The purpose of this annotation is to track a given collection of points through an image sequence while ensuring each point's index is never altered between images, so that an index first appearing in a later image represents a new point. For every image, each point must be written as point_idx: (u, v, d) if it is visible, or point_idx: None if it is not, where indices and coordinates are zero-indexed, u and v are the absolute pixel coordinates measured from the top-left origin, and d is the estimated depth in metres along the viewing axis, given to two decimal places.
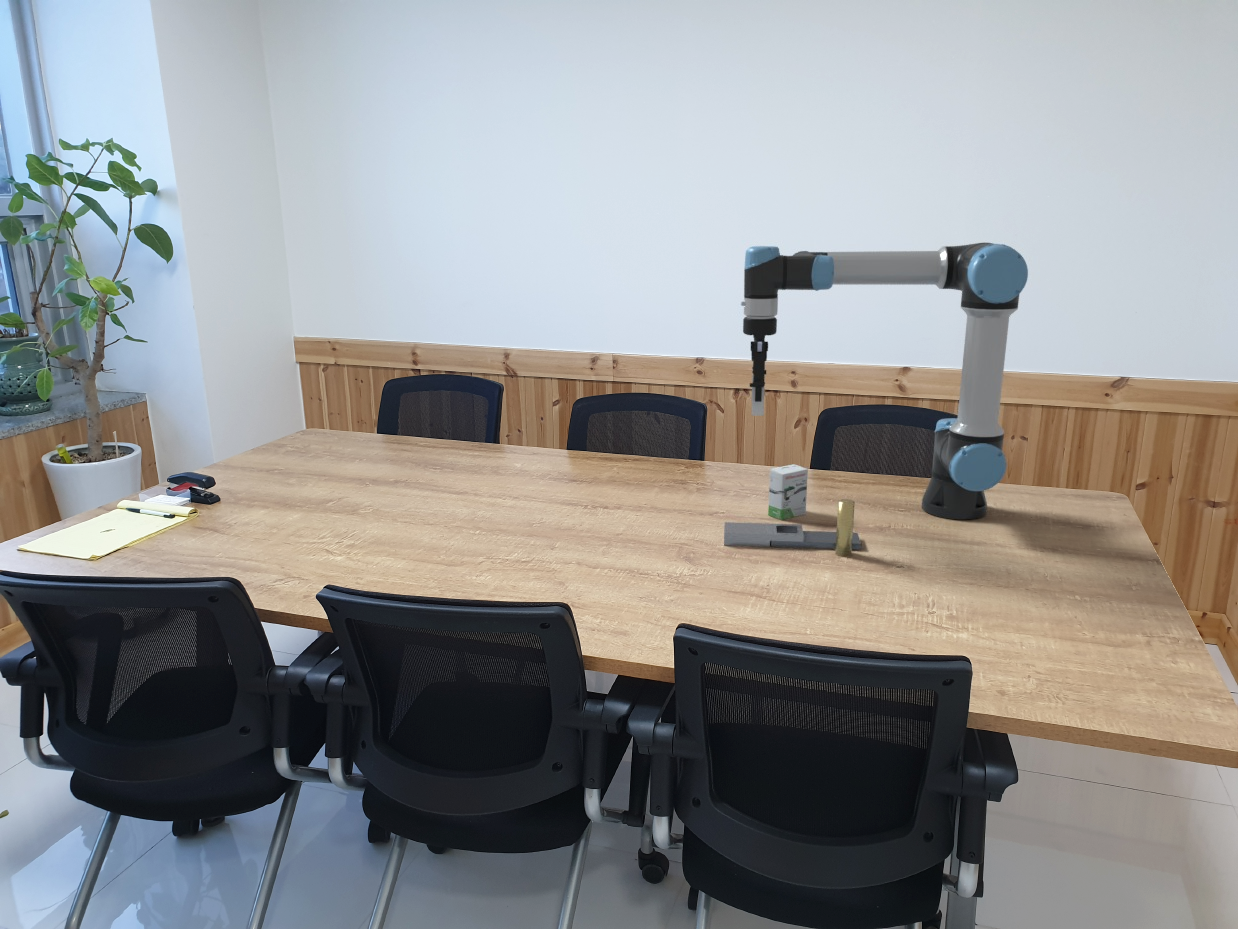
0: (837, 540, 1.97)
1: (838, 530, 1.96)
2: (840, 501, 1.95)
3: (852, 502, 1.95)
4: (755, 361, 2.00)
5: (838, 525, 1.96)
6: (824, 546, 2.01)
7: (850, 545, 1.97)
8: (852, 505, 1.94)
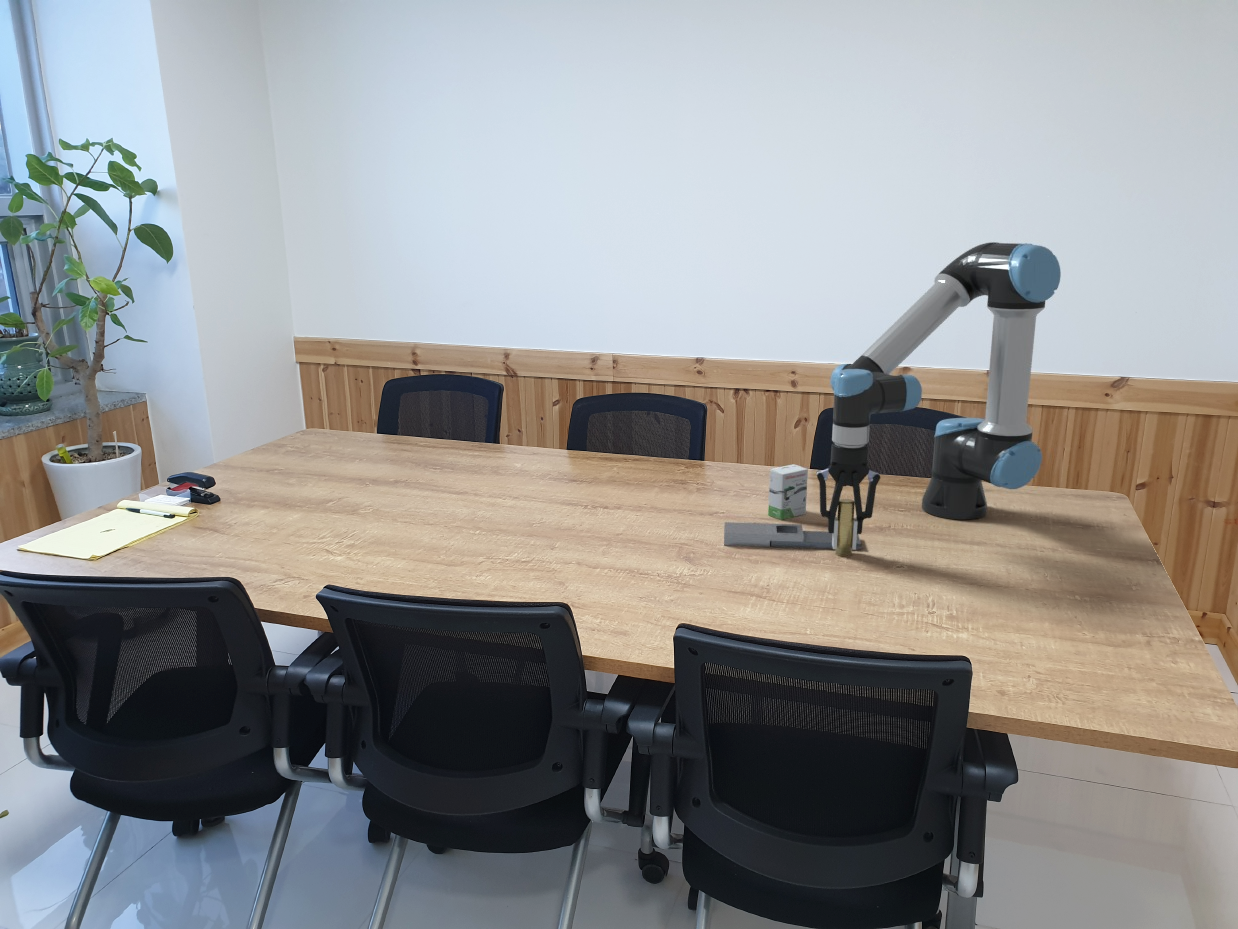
0: (837, 540, 1.97)
1: (838, 530, 1.96)
2: (840, 501, 1.95)
3: (852, 502, 1.95)
4: None
5: (838, 525, 1.96)
6: (824, 546, 2.01)
7: (850, 545, 1.97)
8: (852, 505, 1.94)
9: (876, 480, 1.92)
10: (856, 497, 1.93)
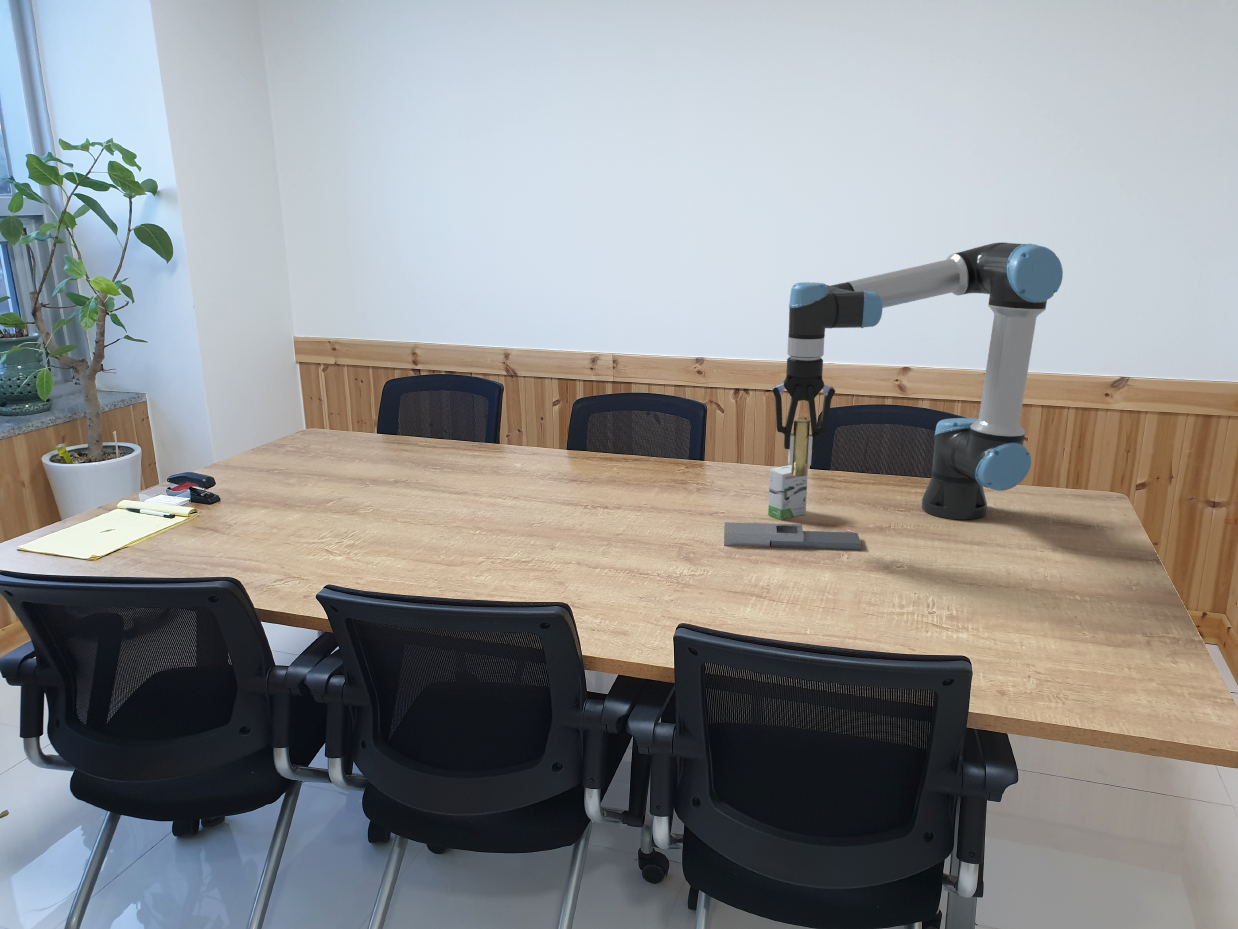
0: (793, 460, 1.98)
1: (794, 450, 1.97)
2: (796, 420, 1.96)
3: (807, 421, 1.96)
4: None
5: (794, 445, 1.97)
6: (824, 546, 2.01)
7: (805, 465, 1.98)
8: (807, 424, 1.95)
9: (831, 394, 1.93)
10: (811, 411, 1.94)
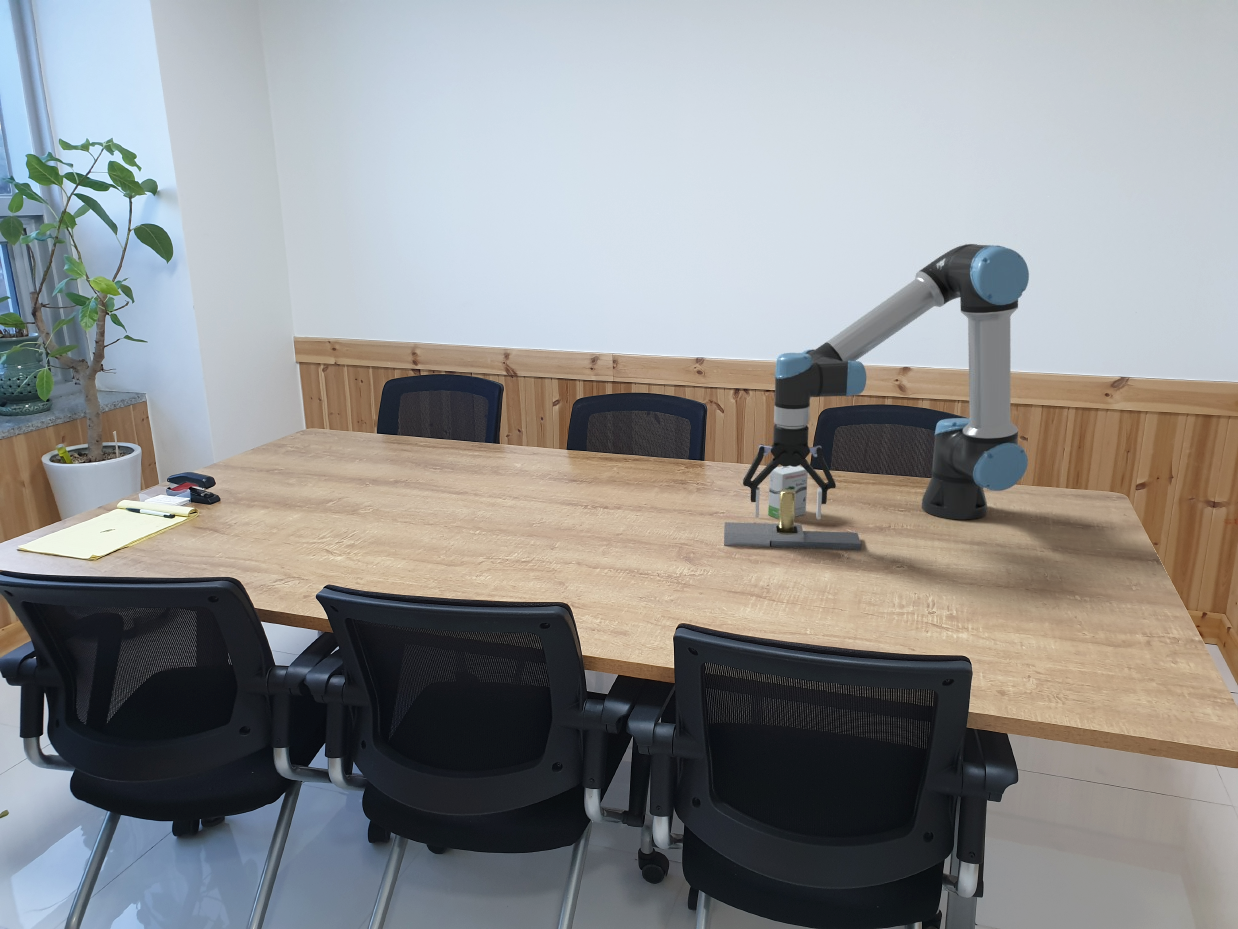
0: (779, 529, 2.04)
1: (780, 519, 2.04)
2: (782, 491, 2.03)
3: (793, 492, 2.02)
4: (753, 461, 2.02)
5: (780, 514, 2.03)
6: (824, 546, 2.01)
7: None
8: (793, 495, 2.01)
9: (820, 453, 1.98)
10: (810, 473, 1.99)
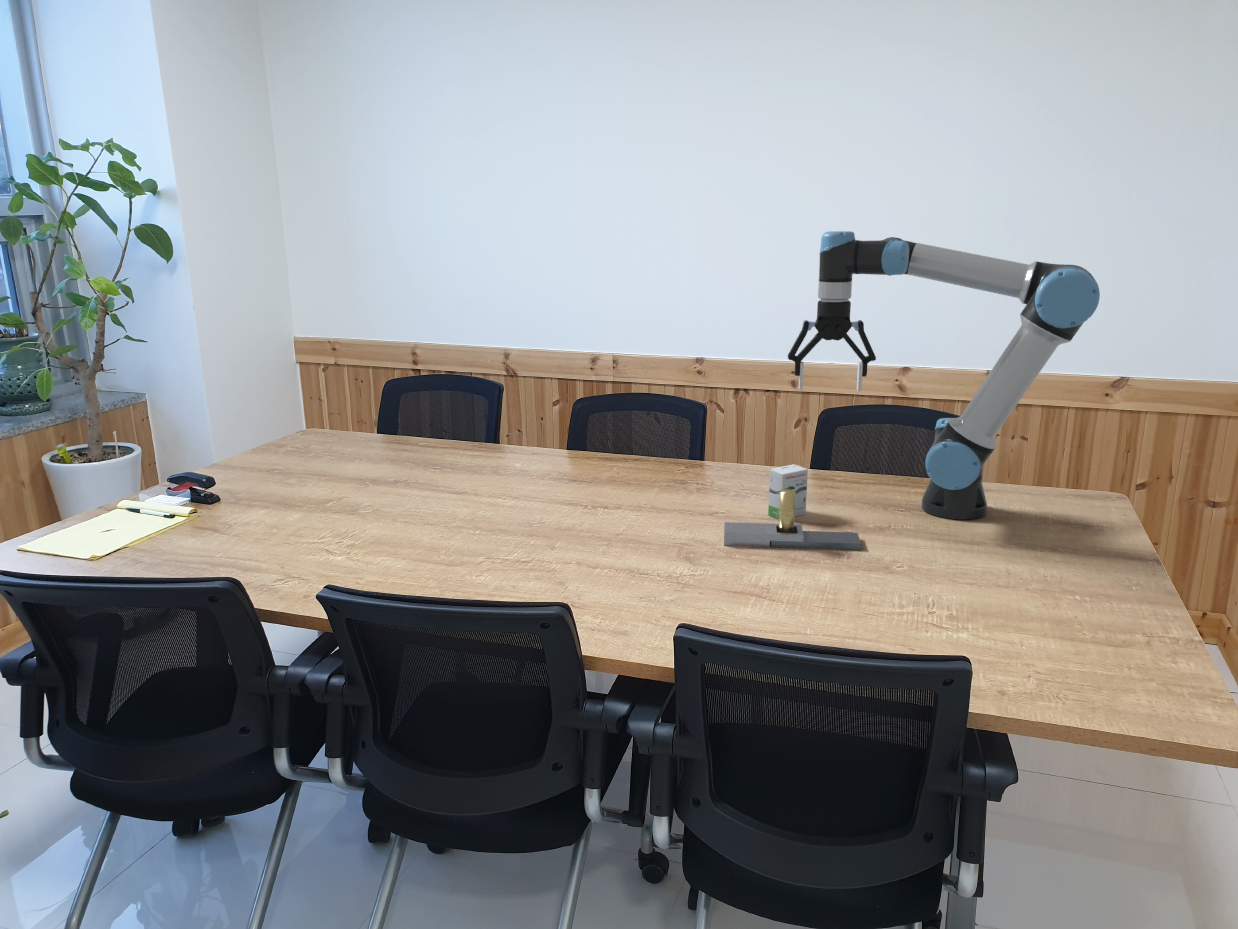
0: (779, 529, 2.04)
1: (780, 519, 2.04)
2: (782, 491, 2.03)
3: (793, 492, 2.02)
4: (797, 337, 2.15)
5: (780, 514, 2.03)
6: (824, 546, 2.01)
7: None
8: (793, 495, 2.01)
9: (861, 326, 2.11)
10: (851, 346, 2.12)
